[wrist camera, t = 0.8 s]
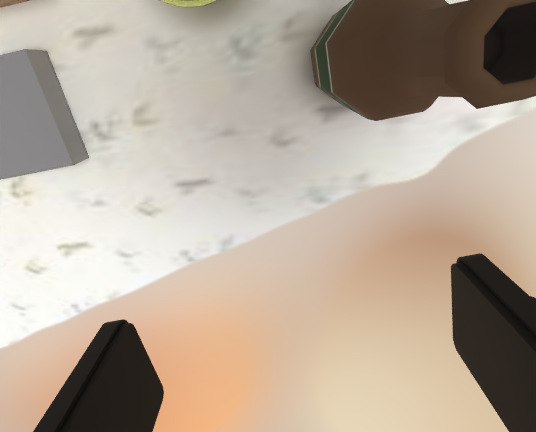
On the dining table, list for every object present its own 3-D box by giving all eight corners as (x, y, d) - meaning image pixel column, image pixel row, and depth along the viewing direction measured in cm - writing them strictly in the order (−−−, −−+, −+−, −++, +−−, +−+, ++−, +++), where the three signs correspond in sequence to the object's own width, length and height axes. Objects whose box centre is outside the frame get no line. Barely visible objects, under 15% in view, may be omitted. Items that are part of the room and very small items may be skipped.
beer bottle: (299, 94, 33) (353, 150, 11) (319, 1, 30) (448, -173, 8) (378, 111, 34) (578, 195, 12) (406, 21, 31) (743, -93, 9)
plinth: (-54, 73, 33) (-83, 74, 30) (46, 50, 32) (25, 49, 29) (-2, 175, 37) (-24, 184, 34) (88, 157, 36) (73, 165, 33)
